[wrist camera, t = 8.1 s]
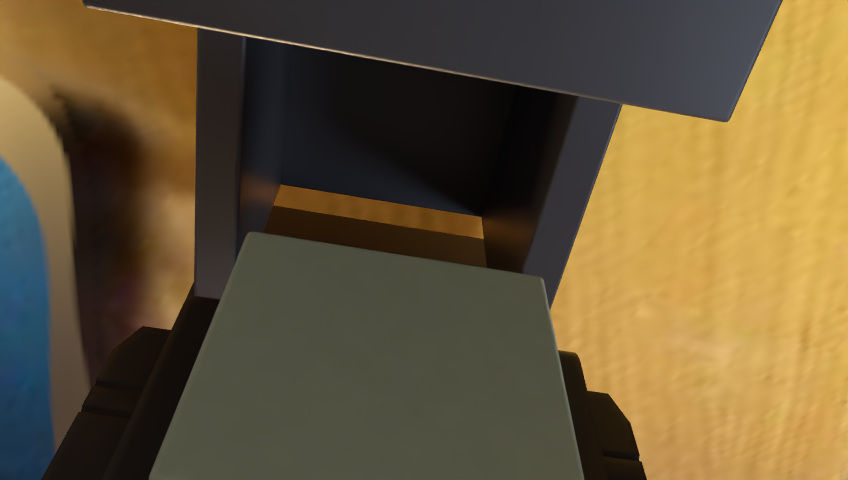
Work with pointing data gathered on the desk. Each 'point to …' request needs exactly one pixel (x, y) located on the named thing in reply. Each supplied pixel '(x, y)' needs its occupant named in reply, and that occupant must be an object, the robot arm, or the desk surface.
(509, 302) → the block
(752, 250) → the desk surface
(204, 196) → the drawer
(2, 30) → the desk surface
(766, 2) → the dark box
